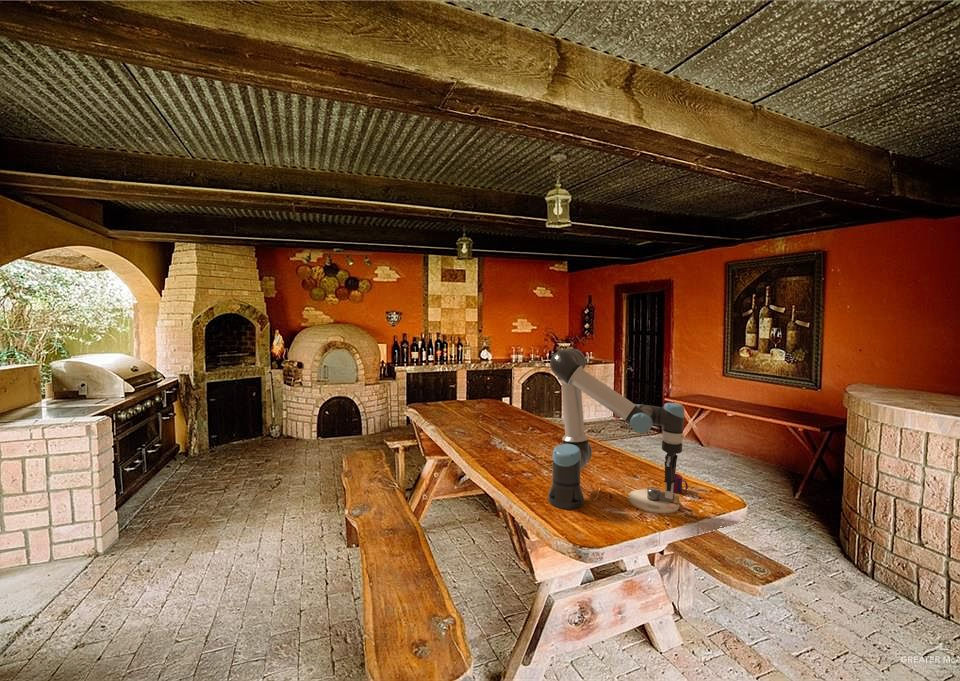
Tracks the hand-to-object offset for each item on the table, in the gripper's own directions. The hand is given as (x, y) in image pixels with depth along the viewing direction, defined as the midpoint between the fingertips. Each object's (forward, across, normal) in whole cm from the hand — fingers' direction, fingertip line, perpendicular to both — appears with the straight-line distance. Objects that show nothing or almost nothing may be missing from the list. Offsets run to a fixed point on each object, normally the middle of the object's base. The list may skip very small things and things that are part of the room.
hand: (668, 497), depth 172 cm
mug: (+6, +22, +1) cm, 23 cm away
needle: (+4, +5, +3) cm, 7 cm away
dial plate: (+6, +4, +7) cm, 10 cm away
